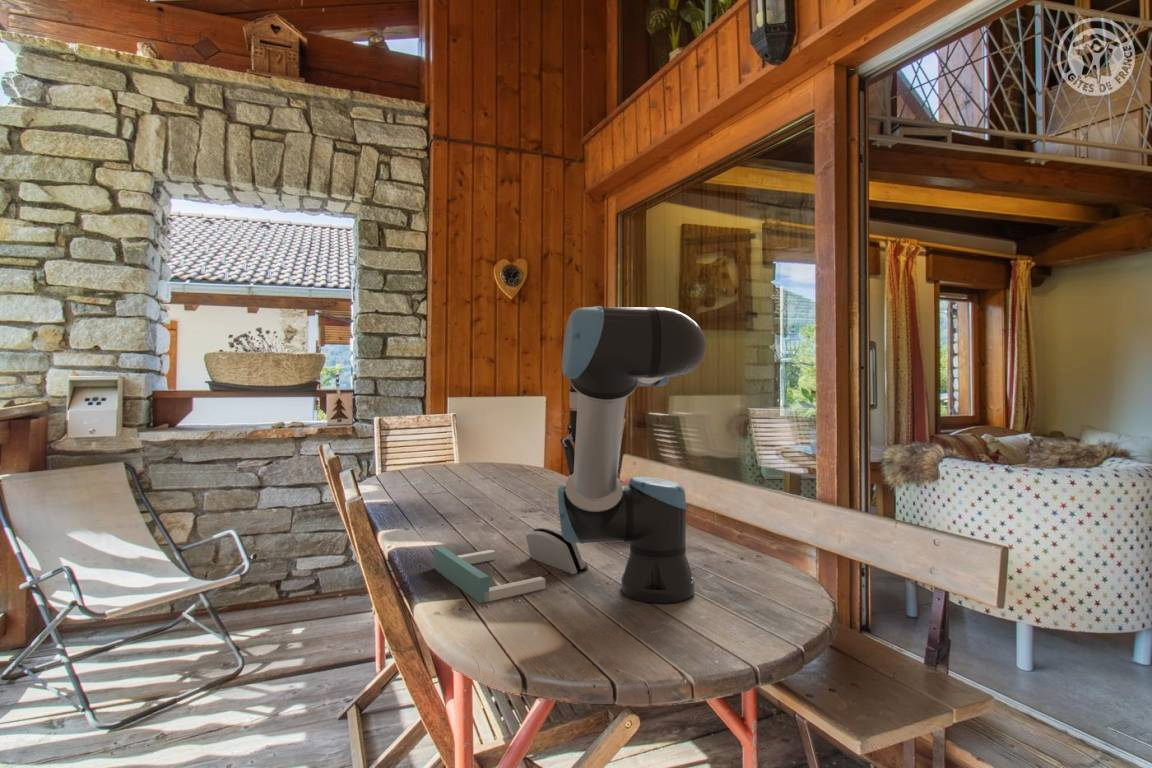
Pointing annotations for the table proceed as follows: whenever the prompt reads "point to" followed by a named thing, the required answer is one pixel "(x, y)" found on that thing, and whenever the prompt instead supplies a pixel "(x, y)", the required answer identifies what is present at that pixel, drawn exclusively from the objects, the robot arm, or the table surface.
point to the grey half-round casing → (554, 550)
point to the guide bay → (478, 575)
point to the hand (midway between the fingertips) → (584, 504)
